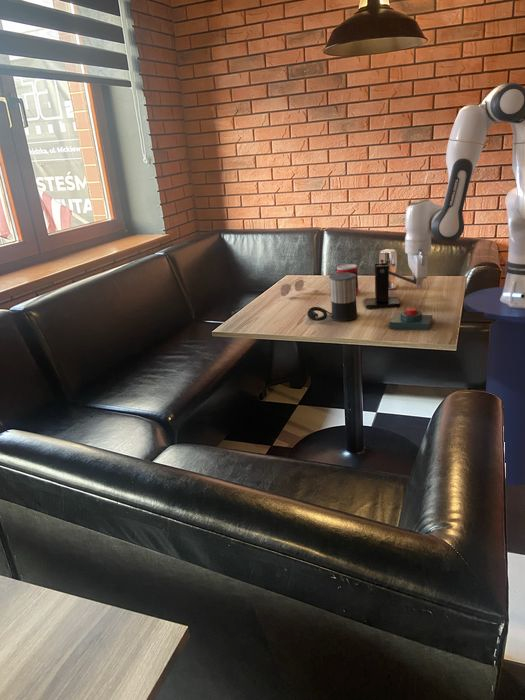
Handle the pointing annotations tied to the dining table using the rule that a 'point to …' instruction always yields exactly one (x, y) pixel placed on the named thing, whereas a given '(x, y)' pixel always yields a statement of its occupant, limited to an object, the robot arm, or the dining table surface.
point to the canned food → (349, 271)
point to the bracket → (382, 289)
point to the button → (411, 311)
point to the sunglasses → (287, 287)
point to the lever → (402, 277)
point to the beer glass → (389, 264)
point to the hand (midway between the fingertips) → (417, 285)
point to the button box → (411, 321)
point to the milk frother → (339, 299)
